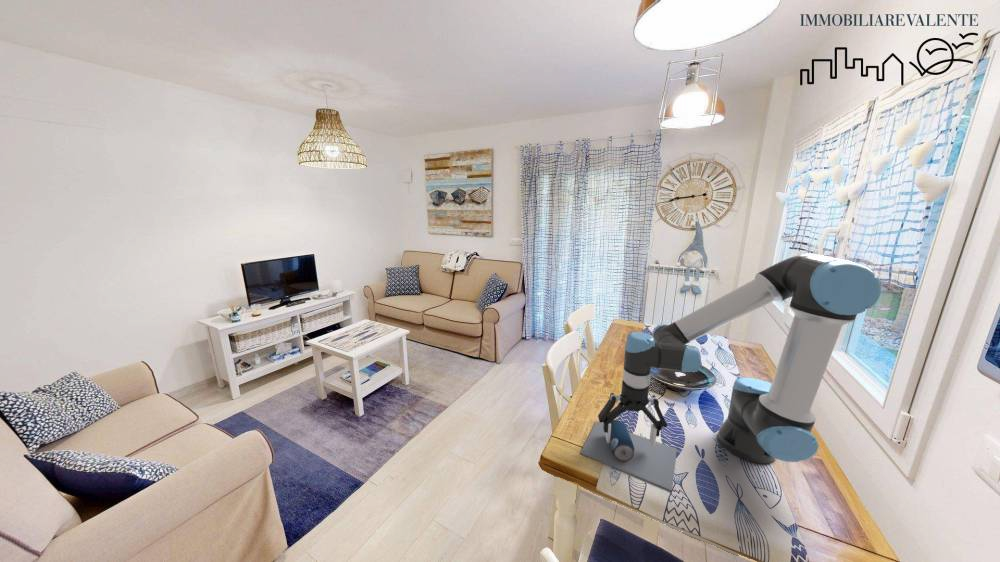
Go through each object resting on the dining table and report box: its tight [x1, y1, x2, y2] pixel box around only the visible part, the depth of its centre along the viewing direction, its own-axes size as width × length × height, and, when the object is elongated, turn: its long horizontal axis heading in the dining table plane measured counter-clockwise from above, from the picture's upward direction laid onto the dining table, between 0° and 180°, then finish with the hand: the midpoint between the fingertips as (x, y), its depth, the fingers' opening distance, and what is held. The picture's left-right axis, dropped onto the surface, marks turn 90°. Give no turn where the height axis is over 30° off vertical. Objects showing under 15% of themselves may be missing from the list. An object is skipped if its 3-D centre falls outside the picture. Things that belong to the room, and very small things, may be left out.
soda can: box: [609, 419, 634, 461], centre depth 101 cm, size 7×7×12 cm
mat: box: [580, 420, 678, 492], centre depth 101 cm, size 26×18×1 cm
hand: (629, 442), depth 100 cm, fingers open, 13 cm apart
